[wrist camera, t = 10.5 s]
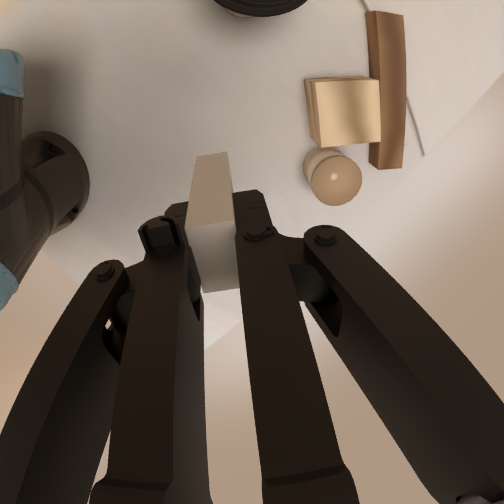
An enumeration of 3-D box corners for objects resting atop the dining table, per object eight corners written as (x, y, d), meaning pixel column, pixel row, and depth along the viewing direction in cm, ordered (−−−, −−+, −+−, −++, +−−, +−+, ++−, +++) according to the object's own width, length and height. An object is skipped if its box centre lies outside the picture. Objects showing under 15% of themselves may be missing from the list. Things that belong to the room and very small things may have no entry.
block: (310, 136, 38) (321, 147, 34) (303, 79, 33) (315, 82, 29) (364, 131, 37) (380, 141, 33) (361, 75, 33) (378, 80, 29)
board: (368, 161, 40) (377, 169, 38) (365, 12, 27) (375, 10, 24) (391, 160, 40) (401, 168, 38) (391, 16, 27) (403, 15, 24)
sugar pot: (301, 189, 42) (312, 208, 37) (299, 145, 38) (311, 159, 33) (345, 184, 42) (360, 202, 37) (345, 141, 38) (363, 155, 33)
